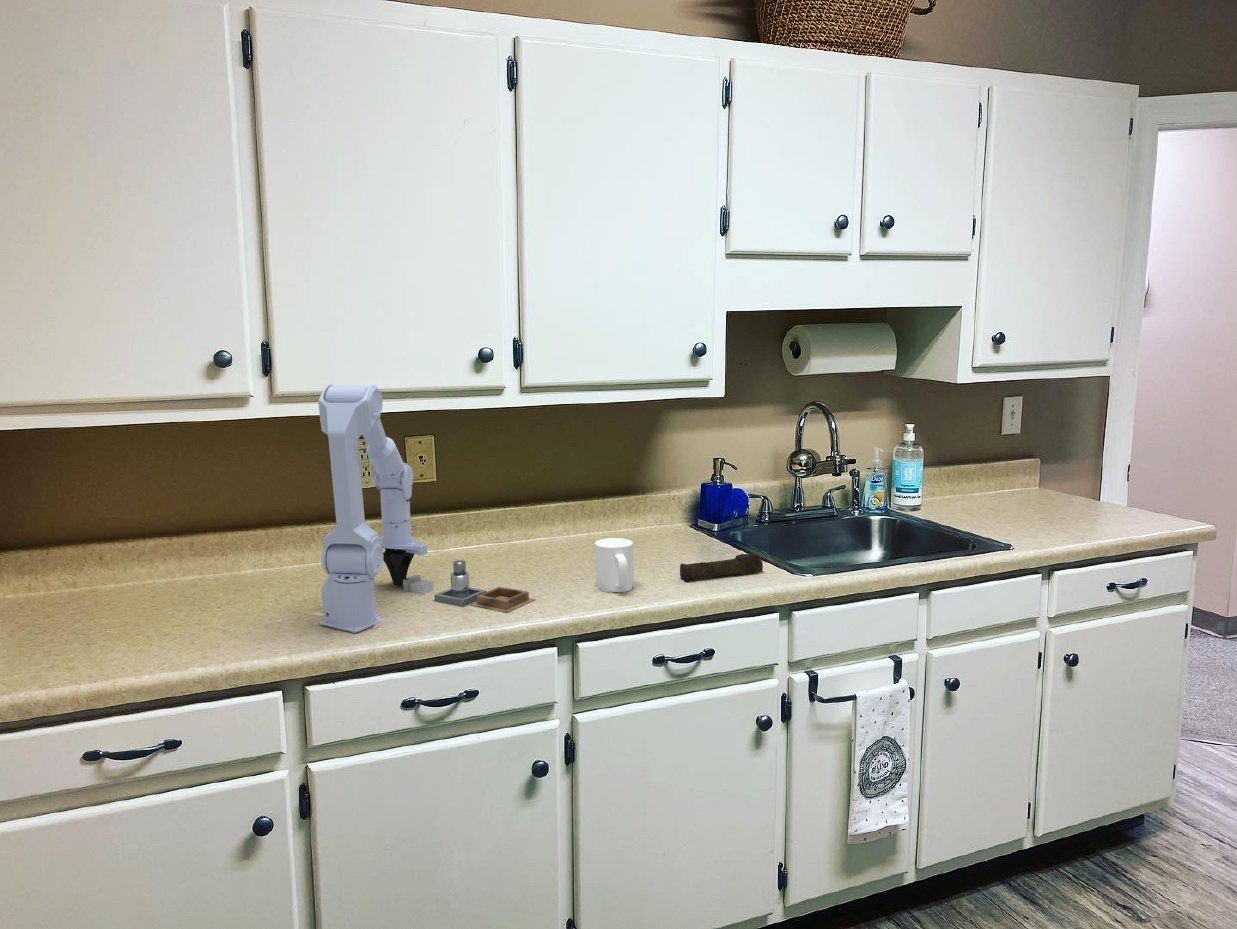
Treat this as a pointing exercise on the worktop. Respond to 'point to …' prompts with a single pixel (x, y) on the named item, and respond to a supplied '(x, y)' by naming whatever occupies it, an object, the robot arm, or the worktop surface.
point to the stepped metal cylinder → (460, 580)
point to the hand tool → (723, 567)
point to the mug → (614, 564)
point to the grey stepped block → (417, 585)
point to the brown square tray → (503, 599)
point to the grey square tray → (448, 599)
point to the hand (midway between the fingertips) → (399, 584)
